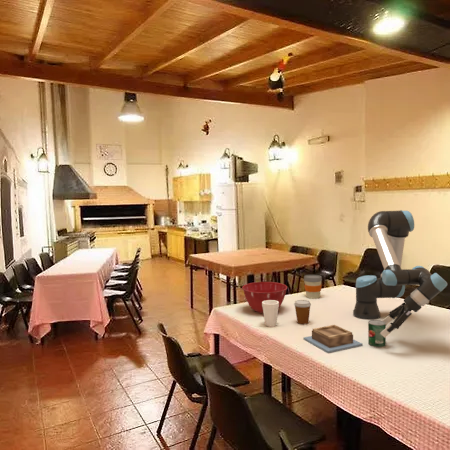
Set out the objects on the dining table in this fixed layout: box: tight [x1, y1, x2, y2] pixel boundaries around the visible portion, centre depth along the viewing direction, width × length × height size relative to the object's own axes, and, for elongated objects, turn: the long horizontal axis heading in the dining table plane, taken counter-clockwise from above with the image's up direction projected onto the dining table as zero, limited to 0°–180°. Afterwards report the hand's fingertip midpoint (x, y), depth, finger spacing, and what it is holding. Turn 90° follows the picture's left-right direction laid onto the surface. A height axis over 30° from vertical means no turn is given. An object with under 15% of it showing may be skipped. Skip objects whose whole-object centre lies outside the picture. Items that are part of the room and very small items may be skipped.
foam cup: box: [262, 300, 280, 328], centre depth 226 cm, size 10×9×13 cm
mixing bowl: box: [241, 281, 288, 314], centre depth 255 cm, size 28×28×16 cm
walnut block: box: [311, 324, 354, 348], centre depth 196 cm, size 14×14×5 cm
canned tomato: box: [367, 319, 387, 348], centre depth 191 cm, size 8×8×11 cm
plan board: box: [303, 335, 364, 354], centre depth 196 cm, size 20×20×1 cm
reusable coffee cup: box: [303, 274, 323, 300], centre depth 283 cm, size 12×13×15 cm
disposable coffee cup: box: [293, 299, 312, 325], centre depth 228 cm, size 10×10×12 cm
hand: (381, 330), depth 190 cm, fingers open, 13 cm apart
